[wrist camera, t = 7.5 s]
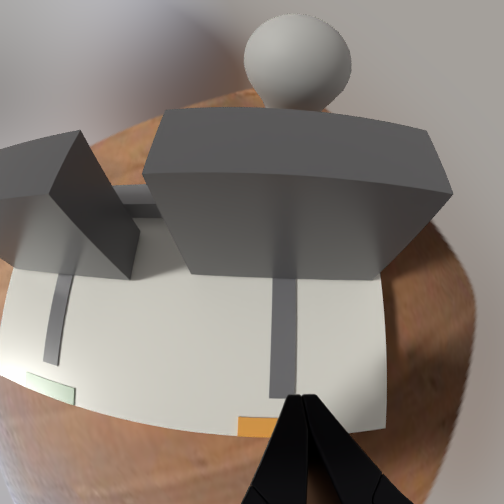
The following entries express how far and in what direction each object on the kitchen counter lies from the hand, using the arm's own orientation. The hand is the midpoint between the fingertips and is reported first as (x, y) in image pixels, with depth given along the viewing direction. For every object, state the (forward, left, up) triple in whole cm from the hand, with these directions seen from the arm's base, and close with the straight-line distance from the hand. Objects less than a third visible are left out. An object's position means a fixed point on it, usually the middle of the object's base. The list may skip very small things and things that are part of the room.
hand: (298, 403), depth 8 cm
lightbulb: (+14, +8, -7) cm, 18 cm away
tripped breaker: (+6, +4, -5) cm, 9 cm away
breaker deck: (0, +8, -7) cm, 11 cm away
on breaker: (-1, +15, -5) cm, 16 cm away
